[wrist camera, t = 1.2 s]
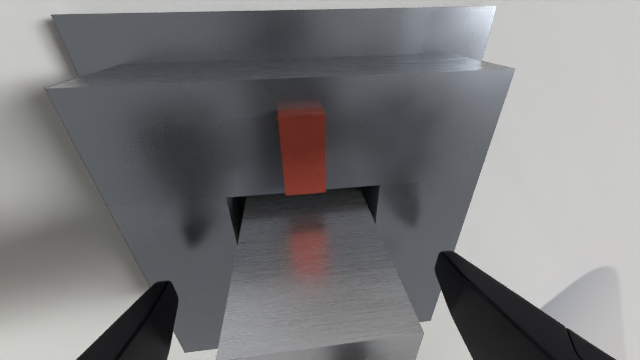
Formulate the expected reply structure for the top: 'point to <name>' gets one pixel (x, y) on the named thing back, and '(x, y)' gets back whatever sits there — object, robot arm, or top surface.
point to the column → (315, 284)
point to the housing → (279, 131)
